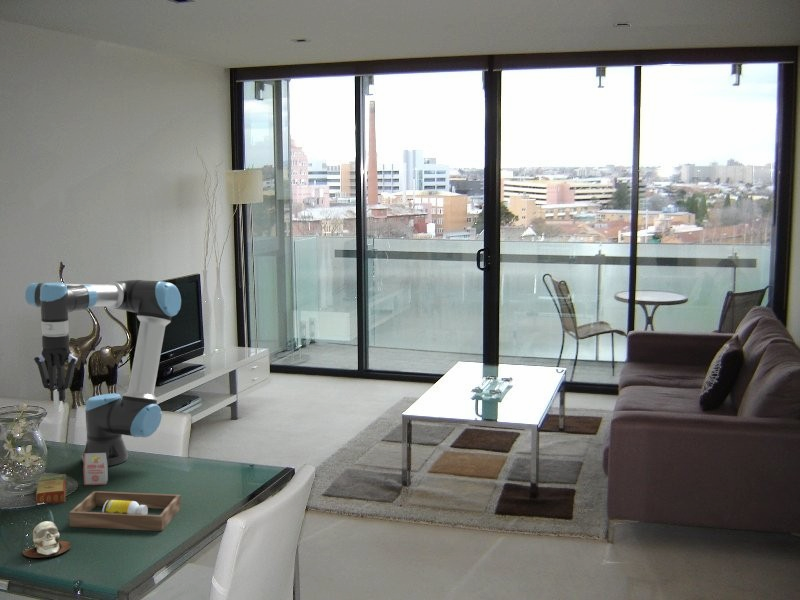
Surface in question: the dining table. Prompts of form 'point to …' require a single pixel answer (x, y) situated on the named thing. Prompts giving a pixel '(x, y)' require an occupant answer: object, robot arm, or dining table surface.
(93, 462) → the white red printed box
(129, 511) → the pill bottle
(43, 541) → the skull
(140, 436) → the robot arm
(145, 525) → the walnut frame
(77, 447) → the dining table surface
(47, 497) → the carton
